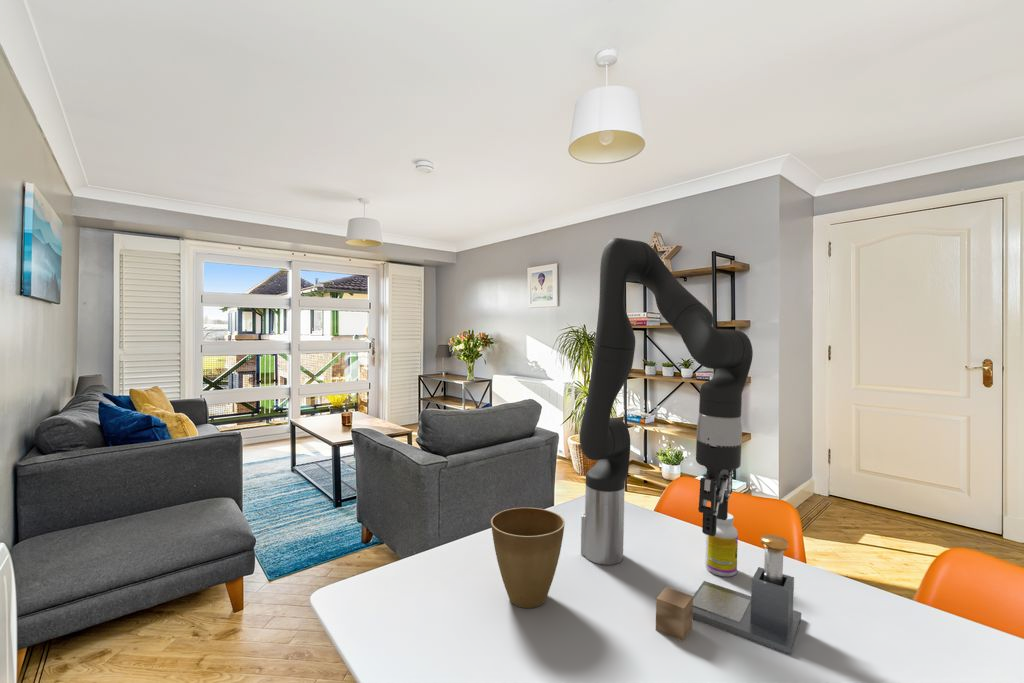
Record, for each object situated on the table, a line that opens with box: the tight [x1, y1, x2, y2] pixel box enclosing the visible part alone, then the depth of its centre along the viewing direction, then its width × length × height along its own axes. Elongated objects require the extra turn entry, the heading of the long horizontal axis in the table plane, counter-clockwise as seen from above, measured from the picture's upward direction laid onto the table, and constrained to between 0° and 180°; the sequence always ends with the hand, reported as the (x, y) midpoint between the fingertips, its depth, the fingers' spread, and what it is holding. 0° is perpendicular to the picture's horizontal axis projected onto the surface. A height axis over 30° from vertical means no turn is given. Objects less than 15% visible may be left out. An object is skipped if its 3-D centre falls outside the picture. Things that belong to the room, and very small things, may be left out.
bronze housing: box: [655, 586, 694, 642], centre depth 88 cm, size 5×5×6 cm
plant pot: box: [490, 507, 566, 609], centre depth 97 cm, size 15×15×16 cm
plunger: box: [760, 534, 789, 586], centre depth 89 cm, size 4×4×11 cm
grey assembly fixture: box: [692, 566, 802, 656], centre depth 92 cm, size 18×13×9 cm
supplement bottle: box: [704, 512, 739, 578], centre depth 110 cm, size 7×7×13 cm
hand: (715, 526), depth 88 cm, fingers open, 8 cm apart
